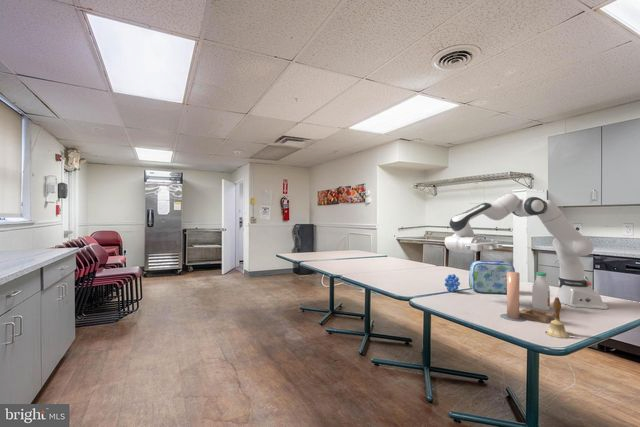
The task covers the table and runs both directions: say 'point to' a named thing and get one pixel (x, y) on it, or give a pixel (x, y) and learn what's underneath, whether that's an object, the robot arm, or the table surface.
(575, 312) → the table surface
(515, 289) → the tall peach cylinder
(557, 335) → the hand bell
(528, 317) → the pocket block
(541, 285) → the milk bottle
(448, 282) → the grapes
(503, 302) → the table surface
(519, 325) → the table surface
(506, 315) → the disc
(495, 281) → the lunch box
